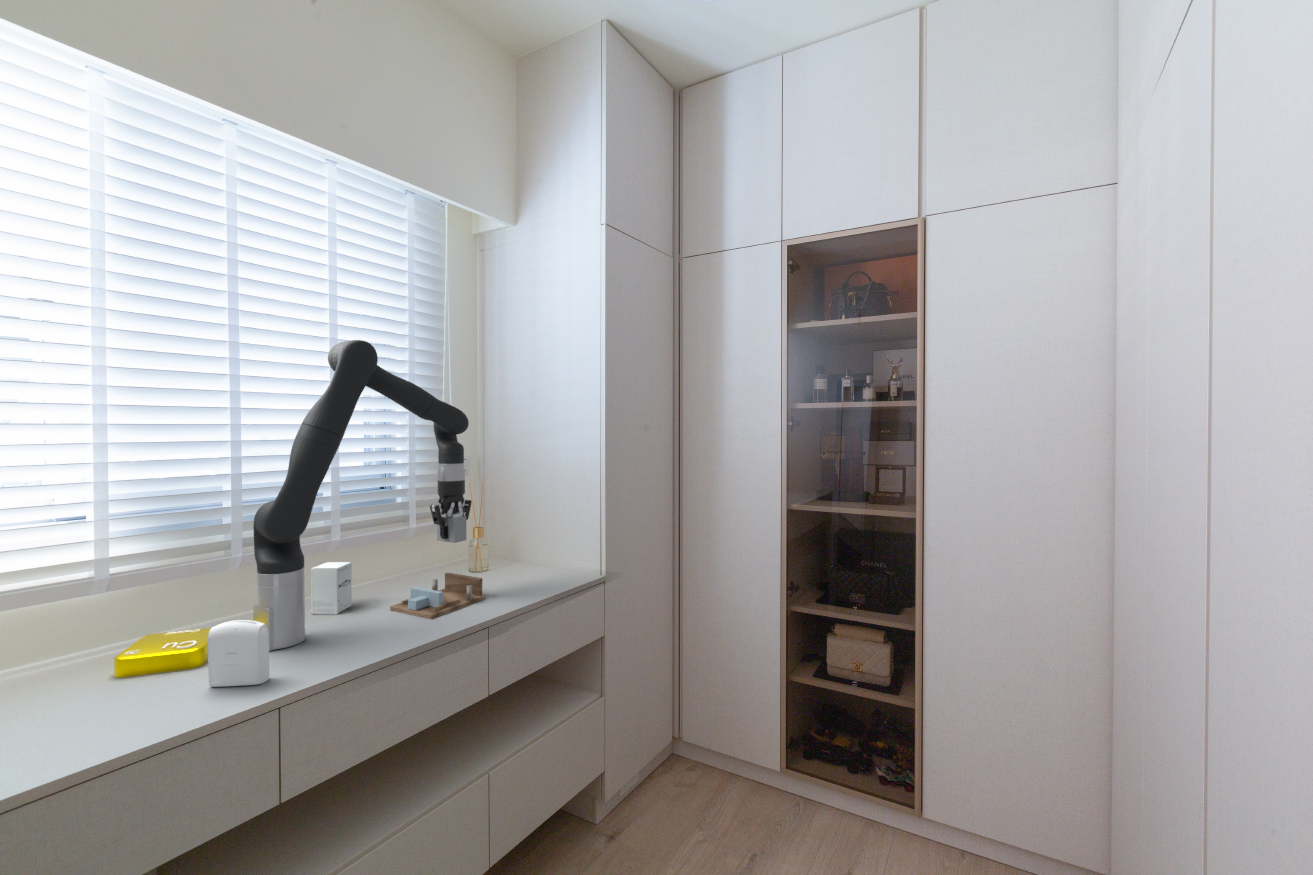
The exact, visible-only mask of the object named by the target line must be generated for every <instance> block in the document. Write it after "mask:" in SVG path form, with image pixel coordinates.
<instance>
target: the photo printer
mask: <svg viewBox="0 0 1313 875" xmlns="http://www.w3.org/2000/svg"><path fill="white" fill-rule="evenodd" d="M210 628H211V629H210V631H209V634H208V661H207V665H208V666H207V668H208V686H209V687H210V688H211V687H212V688H215V687H219V688H220V687H238V686H253V685H261V684H264V683H266V682H267V681H268V680H269V679H270V651H269V637H268V627H267V625H266V624H264V623H261V622H257V621H253V620H251V619H250V620H249V619H235V620H230V621H229V620H228V621H225V622H222V623H219V624H217V625H215V626H213V627H210Z"/></svg>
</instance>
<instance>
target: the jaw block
mask: <svg viewBox="0 0 1313 875" xmlns="http://www.w3.org/2000/svg"><path fill="white" fill-rule="evenodd" d="M444 515H447V514H445V513H444ZM444 520H445V518H443V521H444ZM447 526H448V539H442V538H441V537H440V526H439V525H437V524H436V541H437V542H444V543H445V542H446V543H453V544H455V543H460V542H464V541H467V520H466V516H465V515H464V516H461V514H458V513H453V514H452V515H451V518H449V519H448V525H447Z"/></svg>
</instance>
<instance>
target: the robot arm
mask: <svg viewBox="0 0 1313 875" xmlns="http://www.w3.org/2000/svg"><path fill="white" fill-rule="evenodd" d="M327 362H328V365H329V366H330V369H331V370H332V371H334V372H333V376H332V378H331V381H330V383H329V385H328V386H327V388H326V389H325V391H324V393H322V395H321V396H320V397H319V399H317V401H316V402H315V403H314V405H312V407H311V408H310V409H309V411H308V412H307V414H306V415H305V417H304V419H303V420H302V423H301V425H300V427H299V428H298V431H297V433H296V436H295V437H294V440H293V443H292V446H291V450H290V455H289V461H288V467H287V474H286V476H285V480H284V483H283V484H282V487H281V488H280V491H279V492H278V494H277V496H276V498H275V500H270V501H267V502H265V503H264V504H263V505H261V506H260V507H259V508H258V509H257V511H256V513H255V515H254V518H253V526H252V527H253V550H254V554H253V555H254V560H255V563H256V581H257V582H256V584H257V586H256V588H257V589H256V592H257V594H256V595H257V596H256V599H257V601H256V602H257V603H256V604H254V605H253V608H252V612H253V613H252V614H253V615H252V618H253V619H252V621H257V622H261V623H264V624H266V625H267V627H268V637H269V652H270V651H271V652H272V651H273V650H274V651H275V650H279V649H285V648H289V647H293V646H297V645H298V644H300V643H302V642H304V640H305V639H306V613H305V612H306V611H305V610H306V606H305V601H306V600H305V598H306V595H305V593H306V591H305V587H306V586H305V582H306V581H305V577H306V576H305V575H306V574H305V555H304V553H303V550H302V547H301V542H300V541H301V539H300V538H301V535H303V533H304V532H305V530H306V529H307V527H308V524H309V521H310V519H311V515H312V512H313V507H314V505H315V501H316V499H317V495H318V492H319V490H320V487H321V485H322V483H323V481H324V479H325V477H326V475H327V473H328V471H329V468H330V467H331V464H332V463H333V460H334V458H335V456H336V454H337V452H338V449H339V447H340V446H341V443H342V441H343V438H344V436H345V434H346V430H347V427H348V425H349V423H350V421H351V418H352V416H353V414H354V411H355V409H356V405H357V403H358V401H359V398H360V396H361V395H362V393H363V391H364V390H365V388H369V389H371V390H373V391H375V392H377V393H379V394H380V395H382V396H384V397H386V398H387V399H389V400H391V401H393V402H394V403H396V404H397V405H399V406H401V407H402V408H404V409H405V410H408V412H410V413H412V414H413V415H414V416H416V417H419V418H421V419H423V420H426V421H431V422H433V432H434V433H433V434H434V436H435V437H434V438H435V441H436V444H437V449H438V456H437V457H438V462H437V464H438V466H437V496H438V501H437V503H435V504H430V505H429V509H430V513H431V517H432V521H433V524H434V525H436V526H437V525H439V526H440V537H441V538H442V539H448V526H447V525H448V519H449V518H451V515H452V514H453V513H458V514H461V516H466V521H467V520H469V517H470V512H471V507H472V500H471V499H465V498H464V495H465V493H466V470H465V450H464V449H465V448H464V445H463V444H462V443H460V442H459V441H458V436H457V435H460V434H463V433H465V432H466V431H467V430H468V428H469V424H470V423H469V422H470V421H469V418H468V417H467V415H466V414H465V413H464V412H463V411H462V410H461V409H459V408H457V407H456V406H454V405H451V404H449V403H447V402H444V401H443V400H440V399H438V398H437V397H436V396H434V395H433V394H431V393H430V392H428V391H426V390H425V389H423V388H422V387H421V386H419V385H416V384H415V383H413V382H411V381H409V380H407V379H404V378H402V377H399V376H398V375H395V374H392V373H391V372H389V371H388V370H385V369H384V368H382V367H381V366H379V365H378V362H379V360H378V353H377V350H376V348H375V347H374V346H373V345H372V344H371V343H369V342H368V341H366V340H361V339H354V340H353V339H352V340H347V341H343V342H339V343H337V344H334V345H333V346H331V348H330V349H329V351H328V354H327ZM444 513H445V514H447V515H444ZM443 518H445V520H444V521H443Z"/></svg>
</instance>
